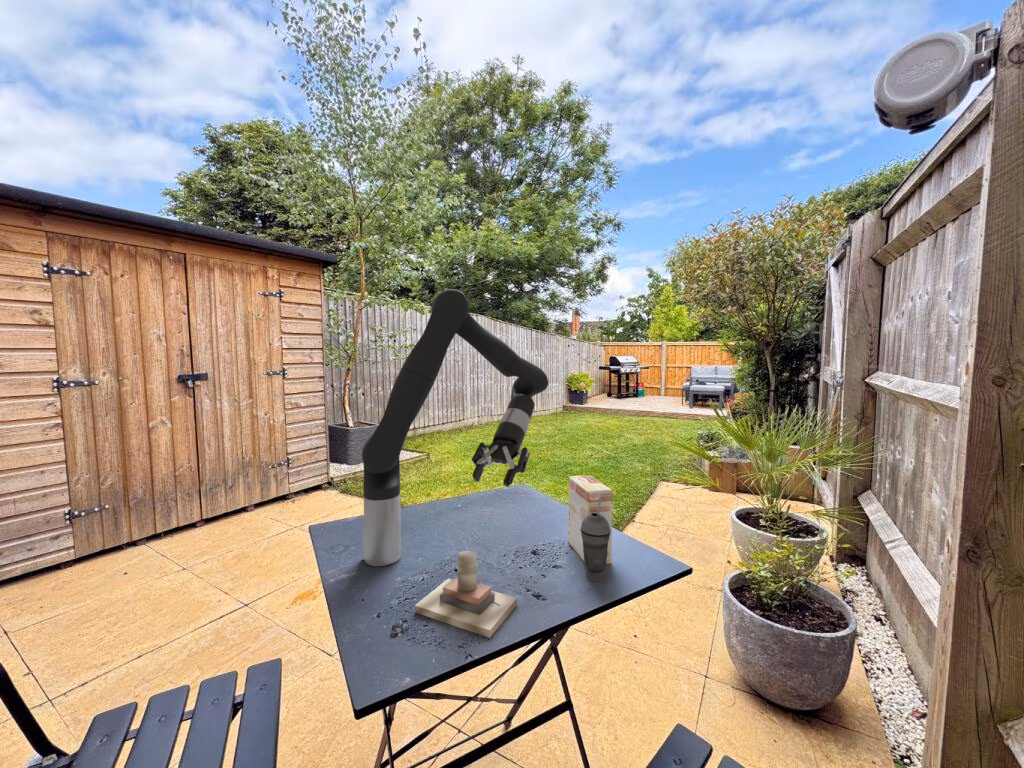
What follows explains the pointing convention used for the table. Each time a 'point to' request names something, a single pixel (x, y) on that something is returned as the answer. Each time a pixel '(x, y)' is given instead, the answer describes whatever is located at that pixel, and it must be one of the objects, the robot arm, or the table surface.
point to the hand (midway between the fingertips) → (490, 482)
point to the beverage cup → (595, 544)
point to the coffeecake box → (587, 508)
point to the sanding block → (467, 587)
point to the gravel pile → (399, 628)
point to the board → (467, 612)
